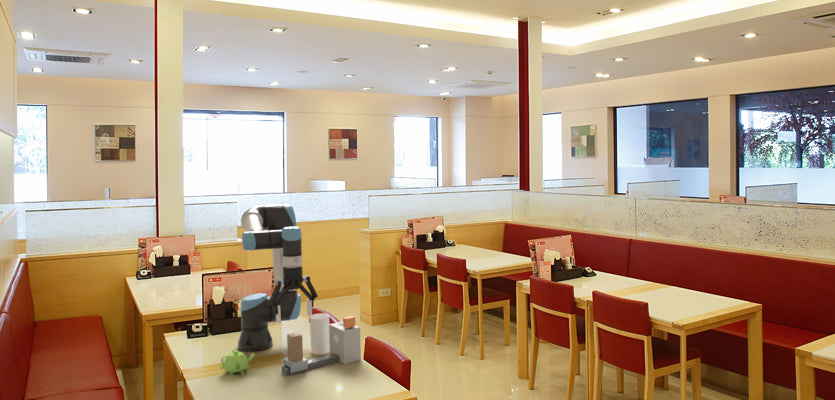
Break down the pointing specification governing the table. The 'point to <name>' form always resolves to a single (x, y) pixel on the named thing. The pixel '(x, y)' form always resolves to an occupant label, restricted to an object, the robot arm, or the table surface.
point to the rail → (315, 363)
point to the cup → (319, 334)
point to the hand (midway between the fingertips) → (294, 319)
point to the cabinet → (345, 342)
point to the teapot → (236, 362)
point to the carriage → (295, 353)
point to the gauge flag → (349, 322)
